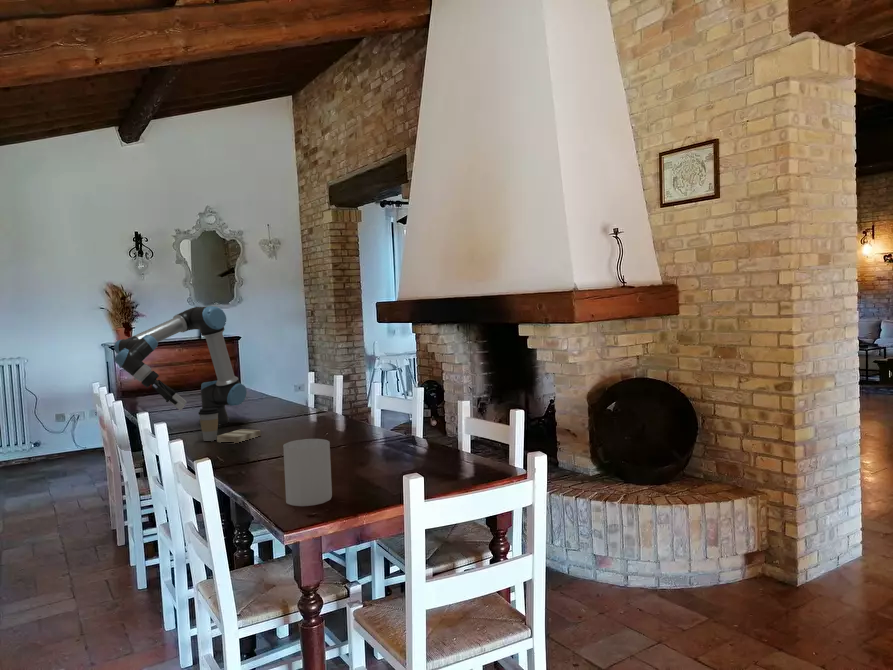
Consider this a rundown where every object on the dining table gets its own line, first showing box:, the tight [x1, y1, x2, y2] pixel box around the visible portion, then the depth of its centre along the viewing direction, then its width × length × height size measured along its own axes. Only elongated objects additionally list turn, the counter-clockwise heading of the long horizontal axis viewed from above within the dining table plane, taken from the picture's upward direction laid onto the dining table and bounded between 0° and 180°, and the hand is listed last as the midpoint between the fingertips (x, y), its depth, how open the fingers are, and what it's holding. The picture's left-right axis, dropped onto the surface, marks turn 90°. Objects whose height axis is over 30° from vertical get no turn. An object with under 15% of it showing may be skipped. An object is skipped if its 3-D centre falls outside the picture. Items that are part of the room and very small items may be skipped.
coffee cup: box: [198, 407, 219, 442], centre depth 304 cm, size 9×9×15 cm
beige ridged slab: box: [216, 428, 262, 444], centre depth 304 cm, size 16×12×3 cm
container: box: [282, 438, 333, 507], centre depth 206 cm, size 14×14×18 cm
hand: (183, 406), depth 300 cm, fingers open, 13 cm apart
